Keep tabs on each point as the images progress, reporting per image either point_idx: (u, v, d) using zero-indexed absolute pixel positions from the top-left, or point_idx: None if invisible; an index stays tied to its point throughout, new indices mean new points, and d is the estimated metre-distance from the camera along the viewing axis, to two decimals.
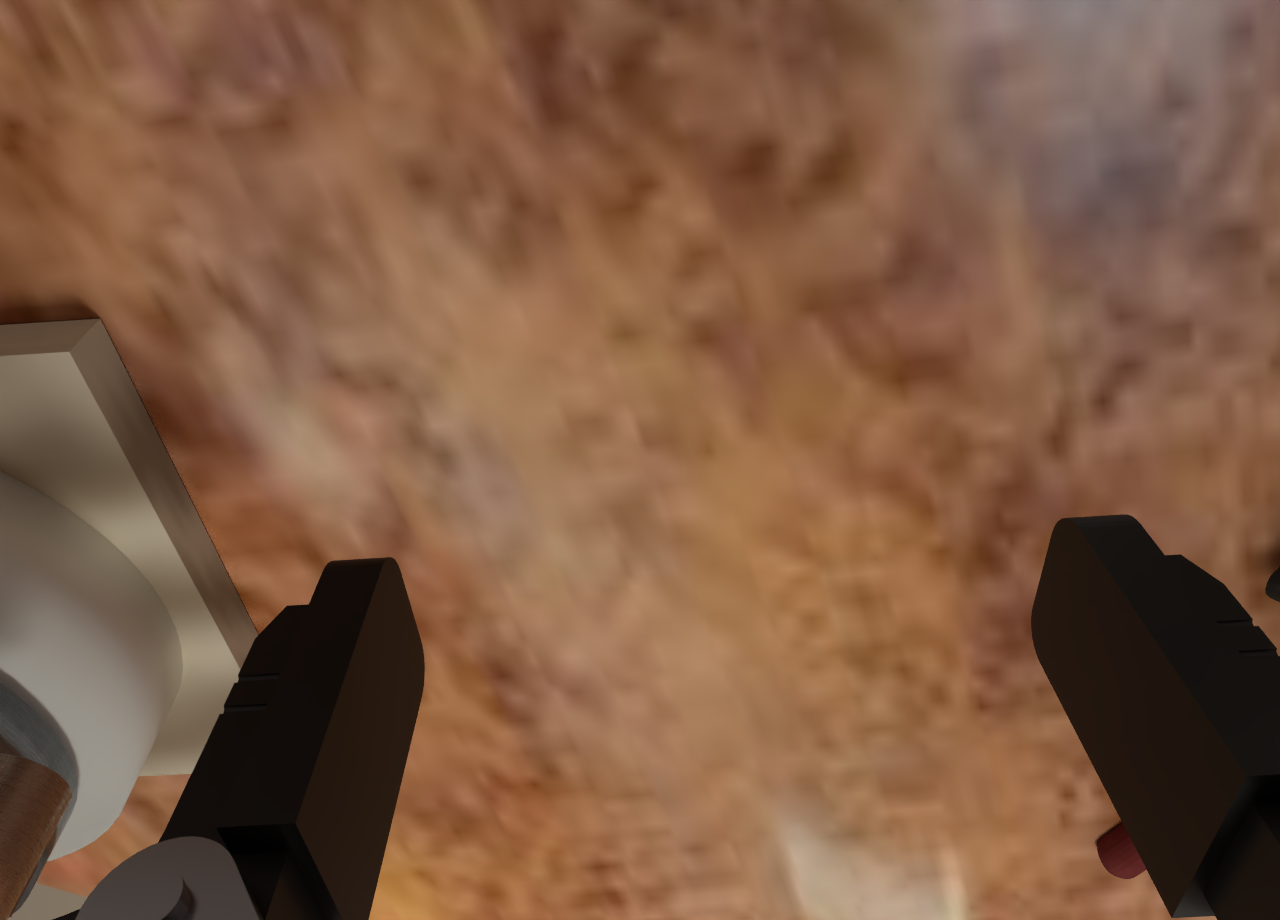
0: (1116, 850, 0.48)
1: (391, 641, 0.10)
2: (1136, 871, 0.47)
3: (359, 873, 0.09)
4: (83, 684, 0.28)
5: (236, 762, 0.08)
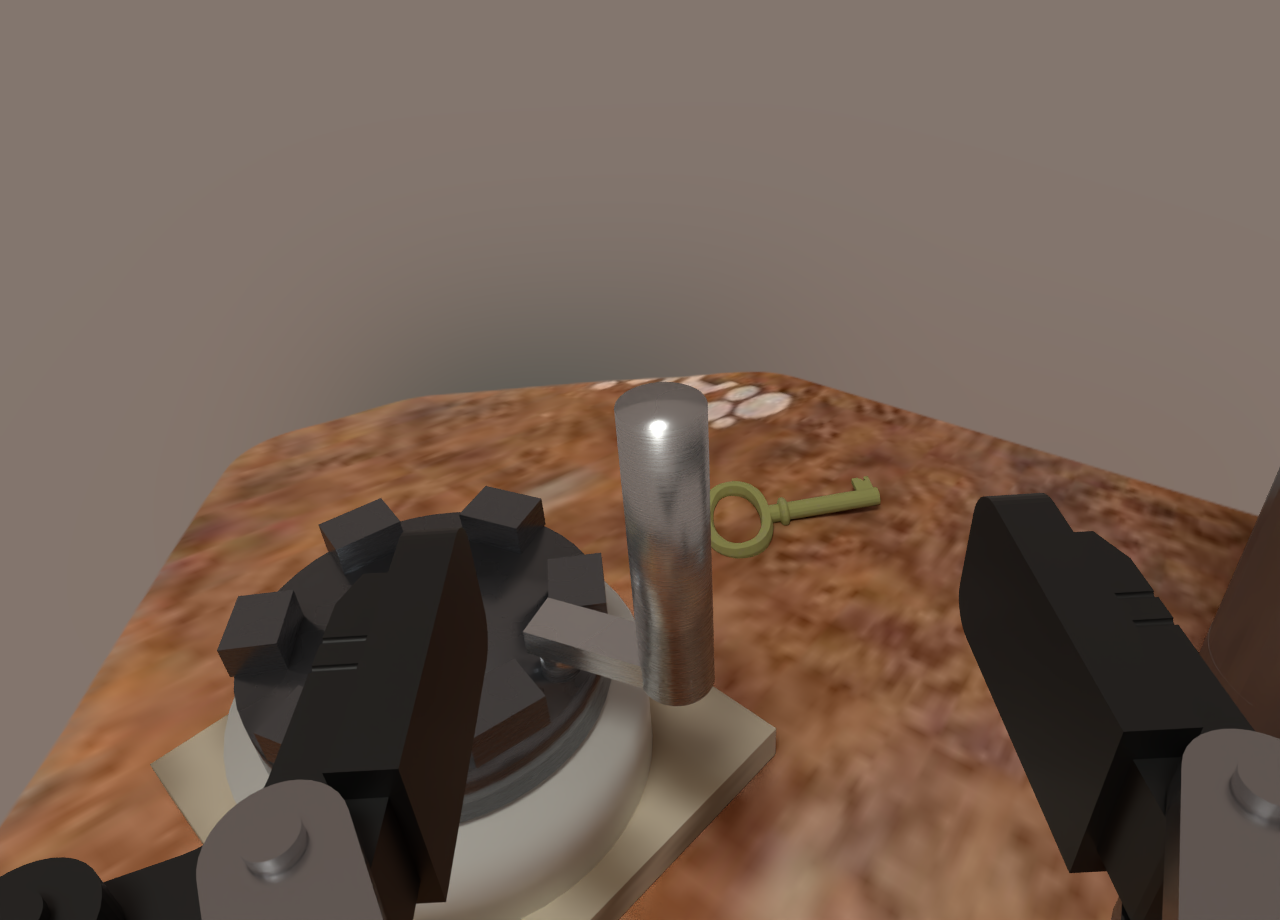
0: None
1: (463, 607, 0.11)
2: None
3: (444, 825, 0.09)
4: (605, 776, 0.36)
5: (329, 716, 0.09)
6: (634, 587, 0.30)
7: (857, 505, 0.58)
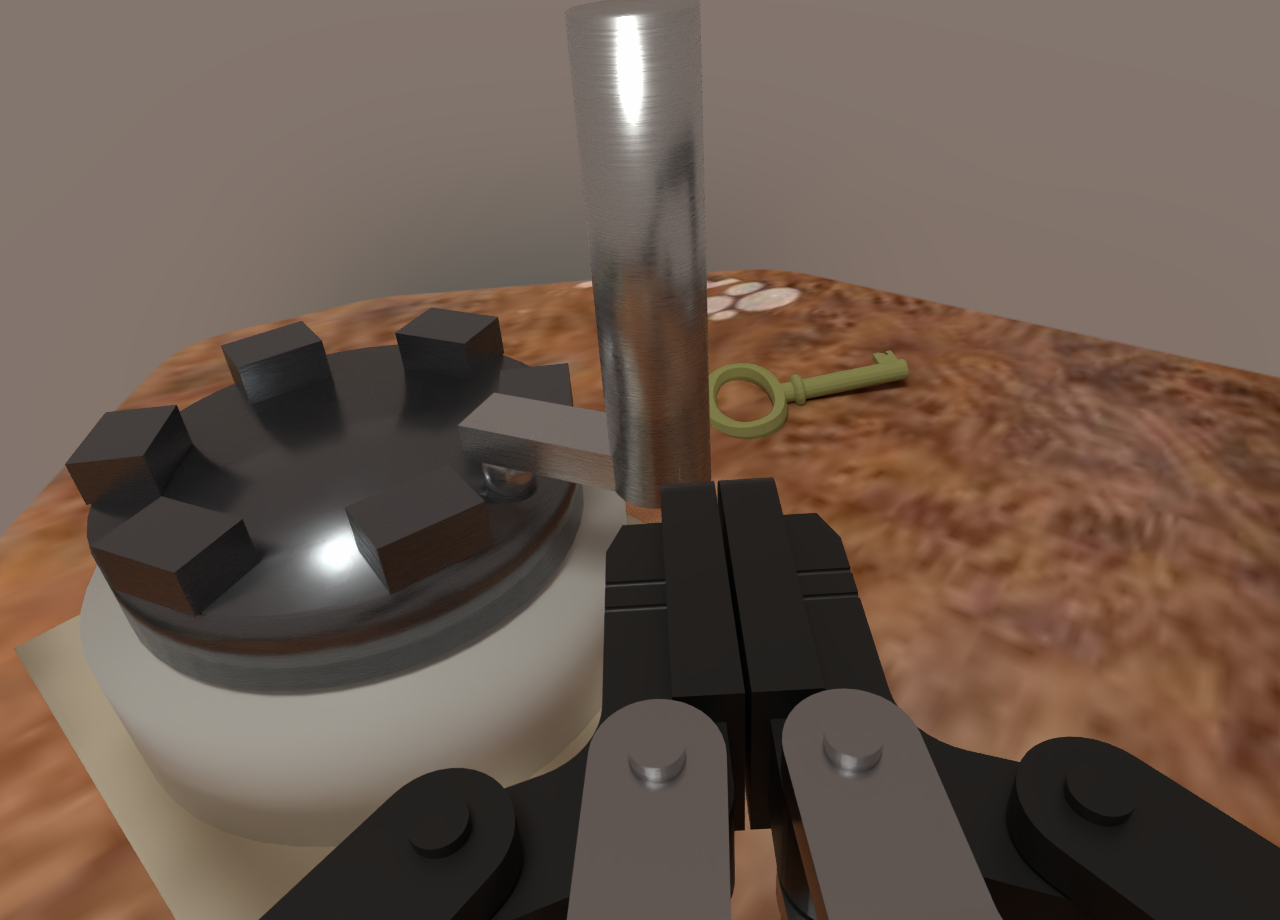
0: None
1: None
2: None
3: None
4: (568, 629, 0.27)
5: (640, 652, 0.09)
6: (599, 321, 0.21)
7: (882, 379, 0.51)
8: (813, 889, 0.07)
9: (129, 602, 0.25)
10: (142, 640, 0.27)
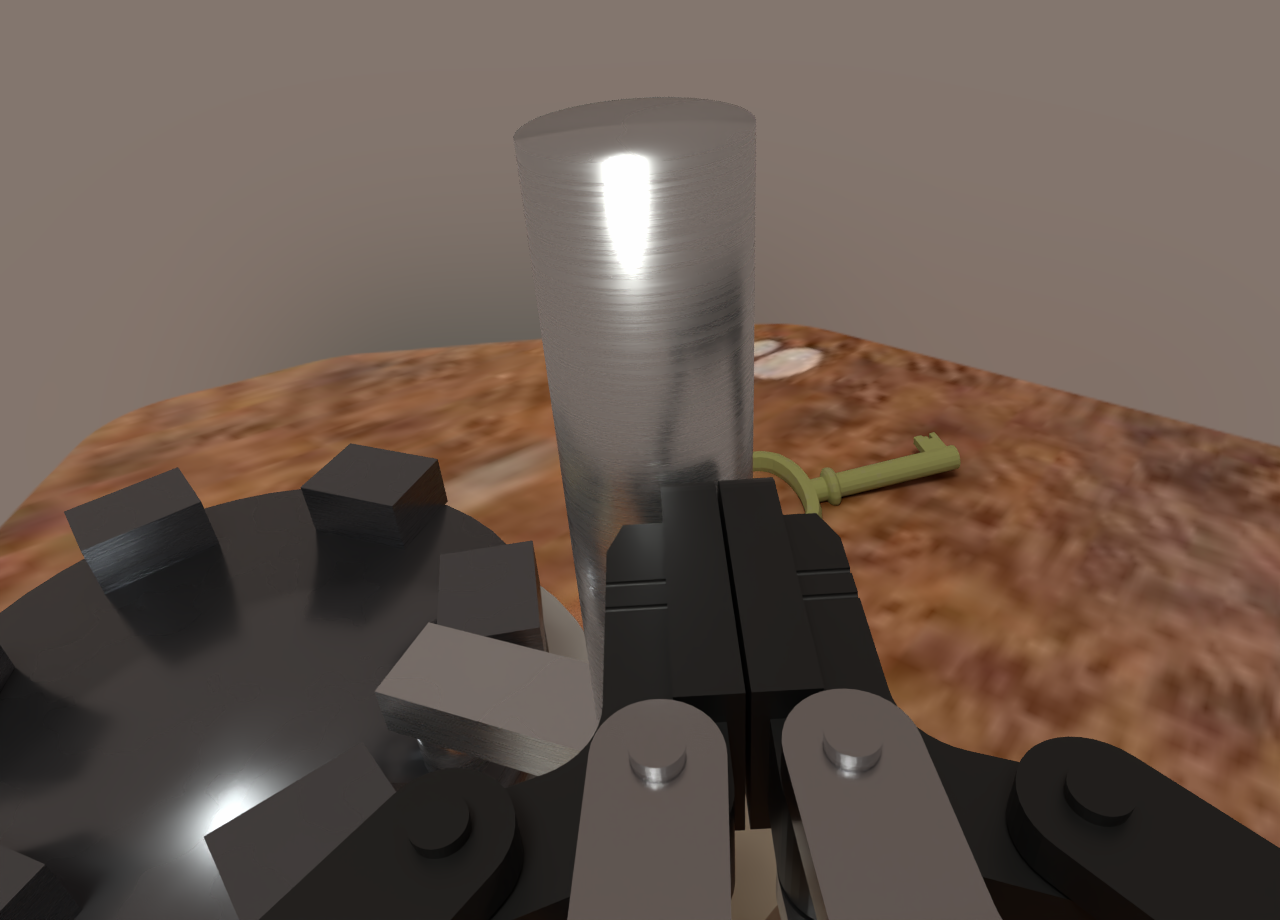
0: None
1: None
2: None
3: None
4: None
5: (641, 652, 0.09)
6: (584, 598, 0.14)
7: (930, 471, 0.43)
8: (813, 889, 0.07)
9: None
10: None
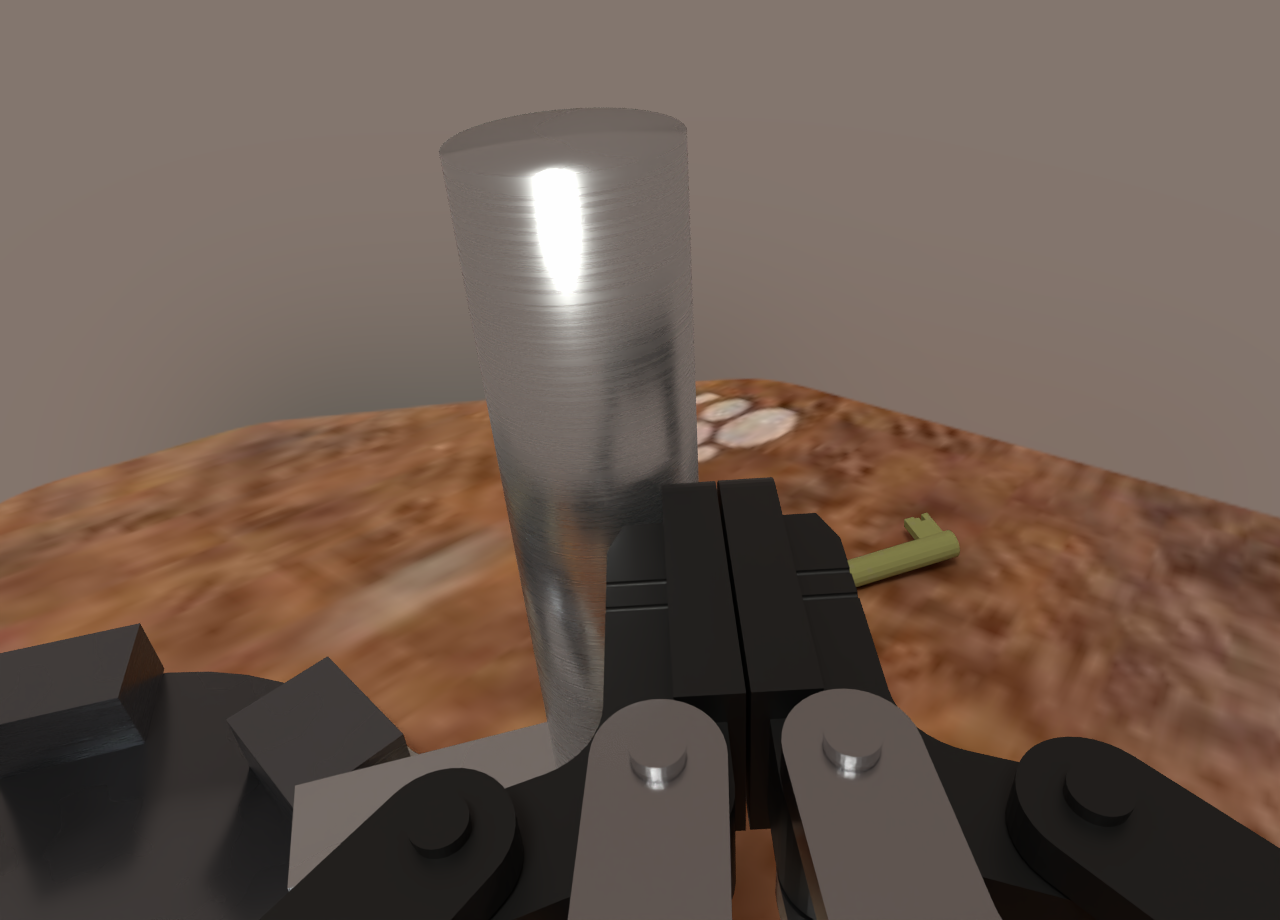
0: None
1: None
2: None
3: None
4: None
5: (641, 651, 0.09)
6: (568, 643, 0.13)
7: (926, 562, 0.38)
8: (812, 889, 0.07)
9: None
10: None
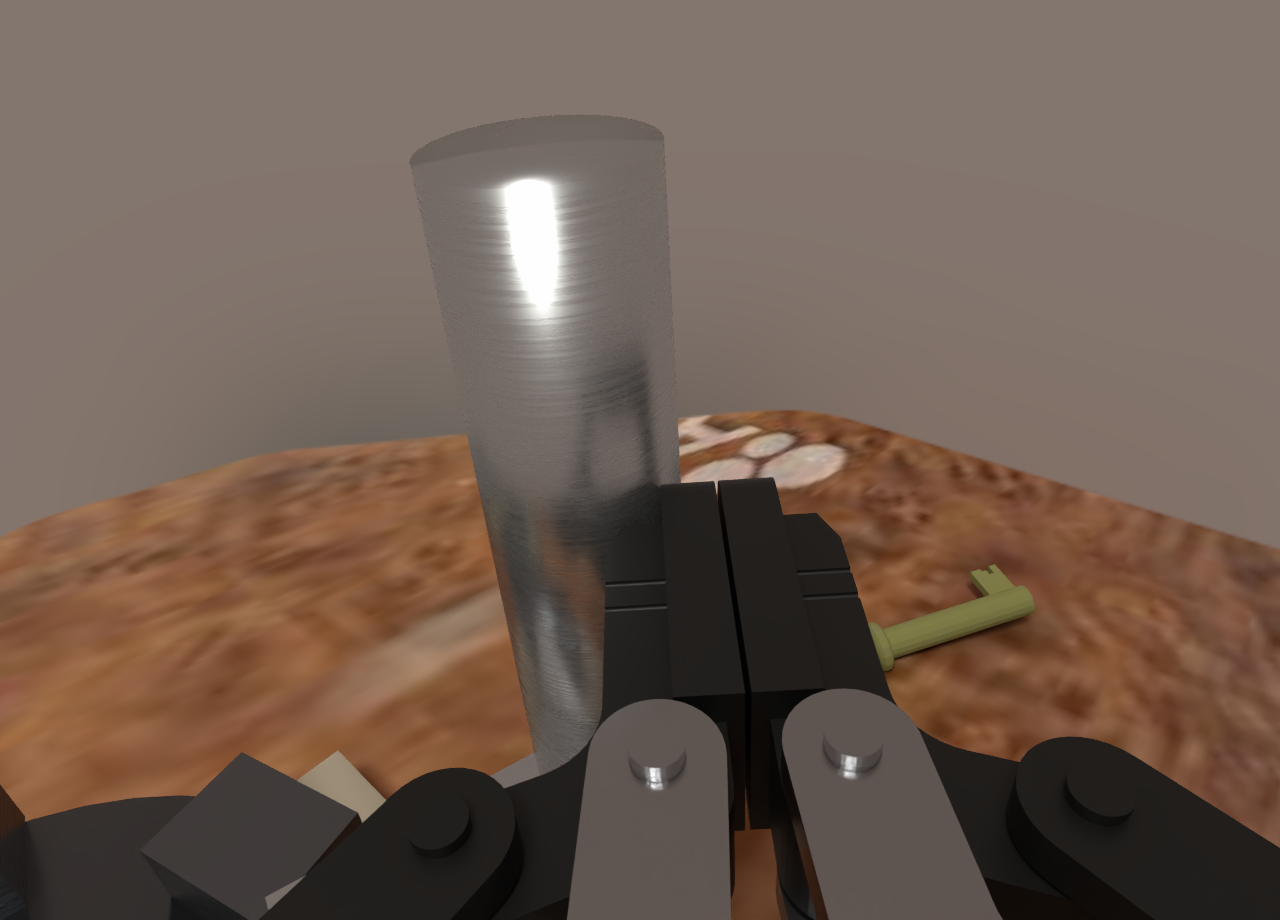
0: None
1: None
2: None
3: None
4: None
5: (640, 652, 0.09)
6: (576, 664, 0.12)
7: (999, 621, 0.34)
8: (813, 889, 0.07)
9: None
10: None
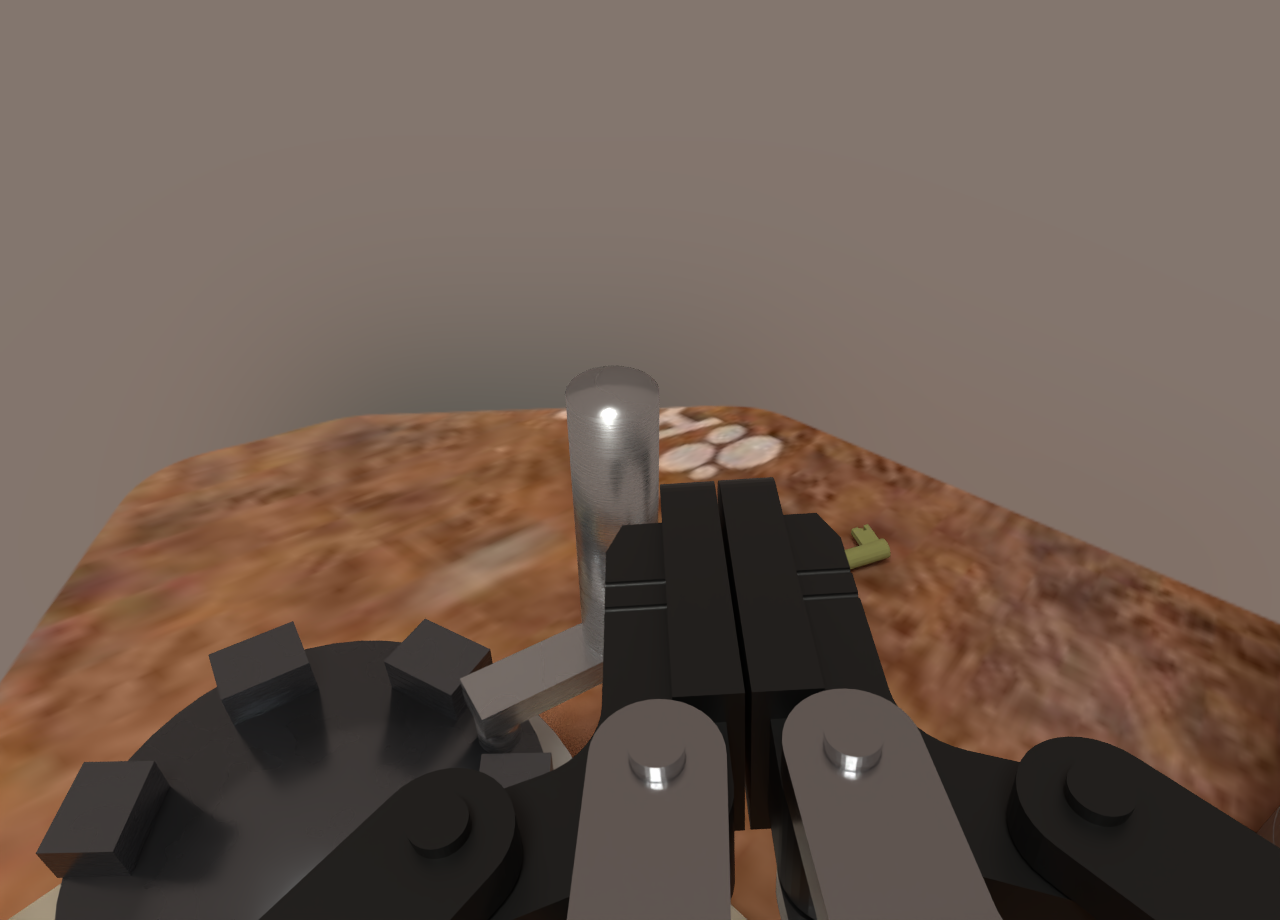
0: None
1: None
2: None
3: None
4: None
5: (640, 652, 0.09)
6: None
7: (867, 562, 0.53)
8: (812, 889, 0.07)
9: None
10: None
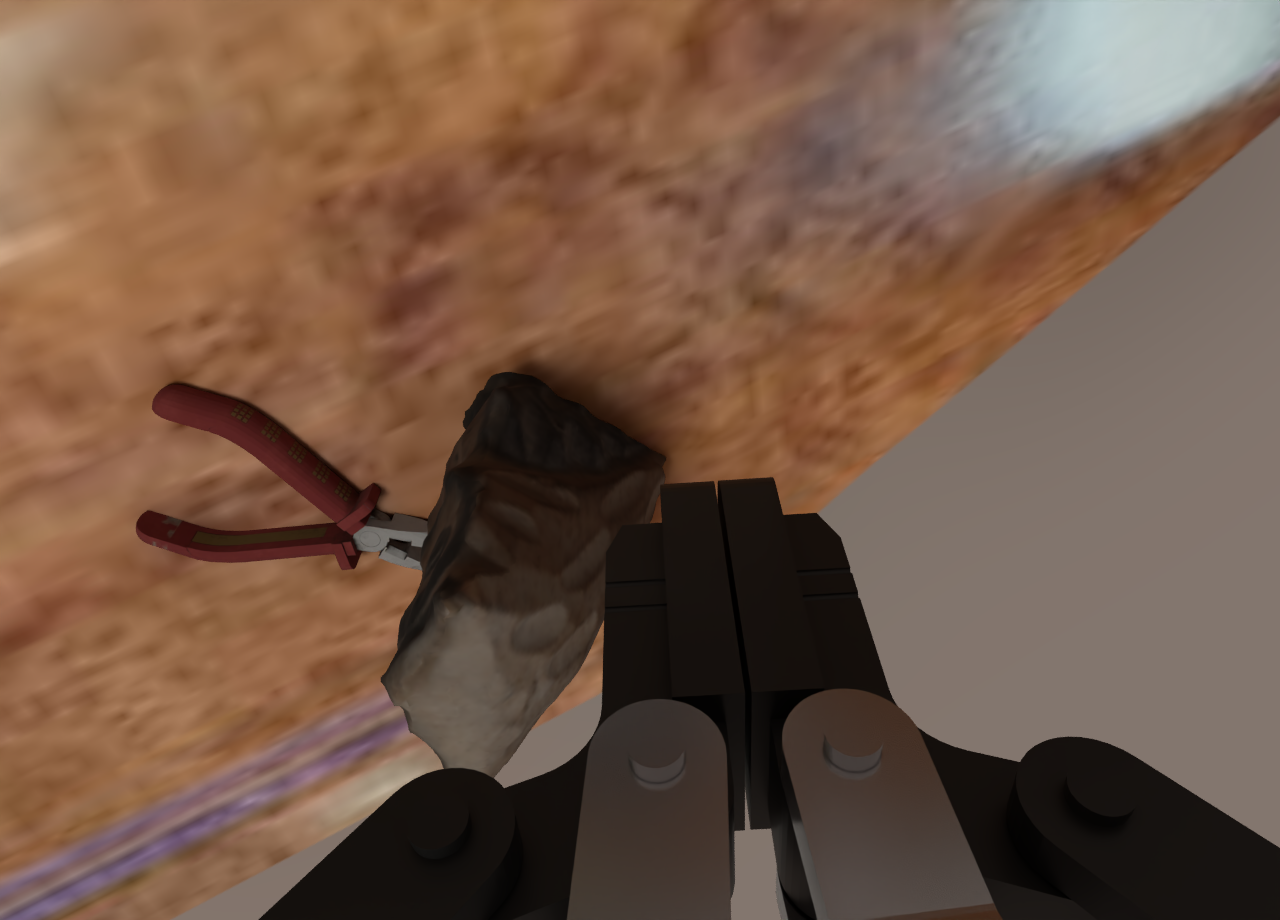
0: (187, 395, 0.49)
1: None
2: (176, 417, 0.49)
3: None
4: None
5: (640, 652, 0.09)
6: None
7: None
8: (813, 889, 0.07)
9: None
10: None
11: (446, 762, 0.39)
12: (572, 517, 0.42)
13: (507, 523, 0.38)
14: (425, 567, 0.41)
